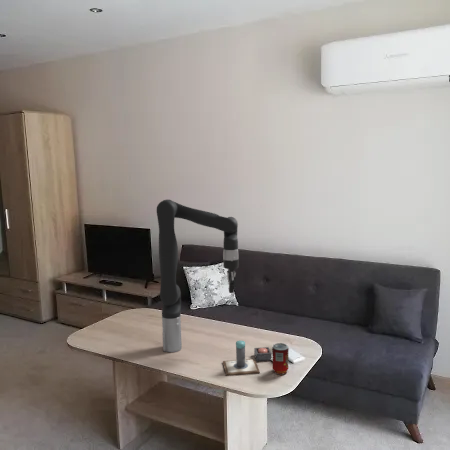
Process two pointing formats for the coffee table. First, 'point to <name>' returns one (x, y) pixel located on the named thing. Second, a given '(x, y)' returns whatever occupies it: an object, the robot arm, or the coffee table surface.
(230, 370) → the board
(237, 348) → the marker
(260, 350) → the button
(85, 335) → the coffee table surface
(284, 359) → the soda can
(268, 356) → the button housing
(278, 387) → the coffee table surface
